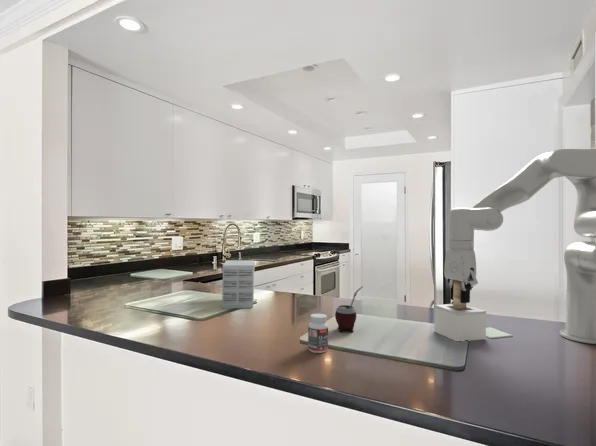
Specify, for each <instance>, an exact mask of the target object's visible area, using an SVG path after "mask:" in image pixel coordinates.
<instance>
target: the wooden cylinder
mask: <svg viewBox="0 0 596 446" xmlns="http://www.w3.org/2000/svg"><path fill="white" fill-rule="evenodd" d="M466 281H467V280H466ZM466 285H467V283H466ZM461 290H462V283H461V281H457V280H454V284H453V300H452V301H453V309H455V310H458V311H462V310H466V305H467V303H461V302H460V300H461Z"/></svg>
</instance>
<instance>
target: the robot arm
mask: <svg viewBox="0 0 596 446" xmlns="http://www.w3.org/2000/svg"><path fill="white" fill-rule="evenodd" d="M562 177H565V178H566V179H567V180H568V181H570V183H571V184H573V186H574V188H575V190H576V193H577V194H576V195H577V197H576V207H575V214H574V220H573V221H574V222H573V230H574V232H575V233H576V234H577V235H579V236H581V237H584V238H589V239H590V238H592V239H596V148H588V149H587V148H561V149H560V148H559V149H555V150H552V151H549V152H544V153H541V154H540V155H538V156H536V157H535V158H533V159H532V160H531V161H530V162H528V163H527V164H526V165H525V166H524V167H523V168H522V169H520V171H518V172H517V173H516V174H514V176H513V177H511V178H510V179H509V180H507V182H505V183H503V184H502V185H499V187H497V188H496V189H495V190H493V191H491V192H490V193H489V194H487V195H486V196H484V197H483V198H482V199H480V200H479V201H478V202H477V203H476V204H475V205H473V206H471V208H470V207H455V208H451V209H450V211H449V213H448V214H449V216H448V217H449V218H448V219H449V221H448V224H449V225H448V248H447V250H446V253H445V257H444V259H445V260H444V266H443V267H444V270H443V271H444V278H445V279H446V280H447V282H448V285H449V288H450V291H451V292H449V293H450V300H451V301H453V284H454V280H457V281H461V283H462V290H461V300H460V302H461V303H466V304H469V303H470V302H471V291H472V290H473V288H474V287H475V286H477V285H478V284H479V282H478V279H477V261H476V253H475V250H474V248H475V246H474V245H475V244H474V243H475V231H483V232H484V231H485V232H492V231H495V230H497V229H499V228H500V227H501V226H502V225H503V223H504V215H503V213H502V212H503V211H506V210H508V209H509V208H512V207H514V206H518V205H520V204H522V203H524V202H525V203H526V202H527V201H528V200H530V199H532V197H533V196H534V195H536V194H537V193H538V192H539V191H540V190H541V189H542V188H544V187H545V186H546V185H547V184H548V183H550V182H552V180H554V179H555V178H562ZM563 260H564V266H565V273H566V295H565V296H566V297H565V298H566V299H565V301H566V303H565V328H562V329H560V330H559V334H560V336H561V337H563V338H565V339H568V340H571V341H575V342H578V343H583V344H584V343H585V344H588V345H589V344H591V345H596V240H595V241H585V240H582V241H576V242H572V243H570V244H569V245H568V246H567V247H566V248H565V250H564V254H563ZM466 280H467V281H466ZM466 283H467V285H466Z"/></svg>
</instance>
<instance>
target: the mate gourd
mask: <svg viewBox="0 0 596 446" xmlns="http://www.w3.org/2000/svg"><path fill="white" fill-rule="evenodd" d="M363 287H364V286H361V287H359V288H358V289H357V290H356V291H355V292H354V294H353V297H352V300H351V303H350V305H345V304H343V305H338V307H336V309H335V314H334V315H335V320H336V321H335V322H336V324H337V325H338V326H337V329H338V330H339V333H341V334H342V333H345V332H349V333H351V334H353V333H354V332H355V331H354V327H355V323H356V320H357V311H356V309H355V308H354V306H353V305H354V301H355V299H356V296H357V294H358V292H359V291H360V290H361V289H362V288H363Z"/></svg>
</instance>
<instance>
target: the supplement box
mask: <svg viewBox="0 0 596 446" xmlns="http://www.w3.org/2000/svg"><path fill="white" fill-rule="evenodd" d="M254 289H255V260H243V259H242V260H241V259H239V260H235V259H234V260H233V259H232V260H231V259H230V260H228V259H227V260H225V262H224V263H223V265H222V290H221V291H222V294H221V295H222V299H221V300H222V301H221V308H222V309H253V308H254V300H255V299H254V298H255V297H254V294H255V292H254V291H255V290H254Z"/></svg>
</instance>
